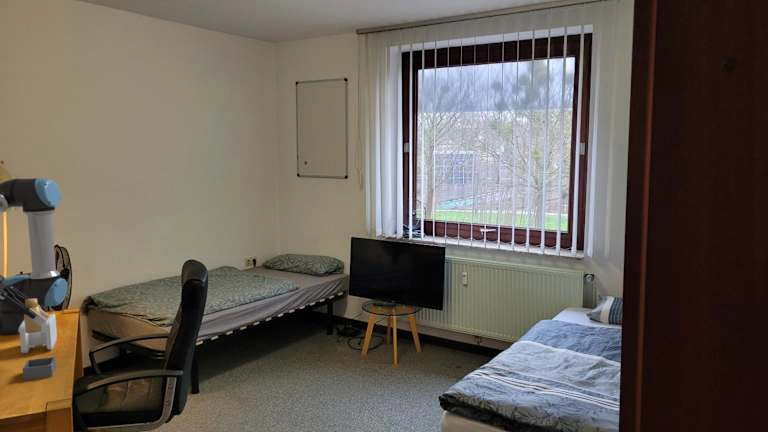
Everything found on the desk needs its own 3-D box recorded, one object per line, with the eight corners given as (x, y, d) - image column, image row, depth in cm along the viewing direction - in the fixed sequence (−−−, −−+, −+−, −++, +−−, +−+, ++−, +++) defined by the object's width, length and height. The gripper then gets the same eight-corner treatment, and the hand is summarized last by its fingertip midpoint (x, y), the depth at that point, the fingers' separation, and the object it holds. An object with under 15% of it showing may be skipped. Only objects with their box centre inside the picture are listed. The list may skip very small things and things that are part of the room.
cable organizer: (52, 352, 218) (49, 323, 217) (19, 356, 215) (17, 326, 213) (57, 340, 232) (55, 312, 231) (27, 343, 228) (25, 315, 227)
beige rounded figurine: (26, 329, 208) (24, 298, 207) (42, 328, 210) (40, 297, 208) (24, 333, 203) (21, 302, 202) (40, 332, 205) (37, 300, 204)
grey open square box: (28, 371, 200) (27, 360, 200) (56, 367, 203) (55, 356, 203) (23, 380, 192) (22, 368, 192) (52, 376, 195) (51, 365, 195)
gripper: (-15, 282, 207) (41, 321, 215) (-30, 294, 191) (32, 336, 199) (1, 266, 208) (56, 305, 217) (-12, 277, 192) (48, 319, 200)
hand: (44, 320), depth 208 cm, fingers closed on beige rounded figurine, 5 cm apart
